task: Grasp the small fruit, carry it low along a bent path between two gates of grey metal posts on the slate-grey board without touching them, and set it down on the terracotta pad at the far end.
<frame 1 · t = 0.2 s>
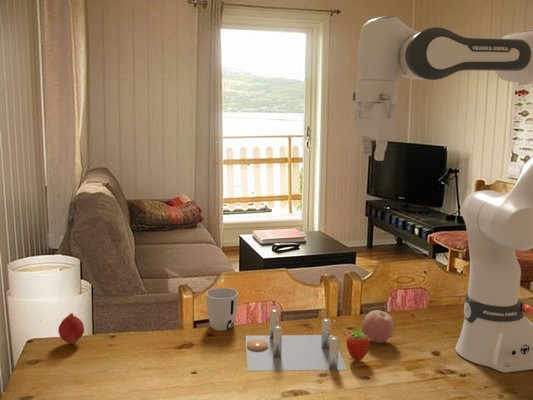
hand: (372, 157, 123), 47 cm above the table, fingers open, 8 cm apart
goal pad: (257, 346, 133), resting on board
apple: (377, 342, 139), on the table
board: (293, 355, 131), on the table
cup: (221, 330, 145), on the table
posts: (302, 337, 130), on the board, point 4 cm above the table
fruit: (356, 361, 129), on the table
onion: (72, 344, 134), on the table
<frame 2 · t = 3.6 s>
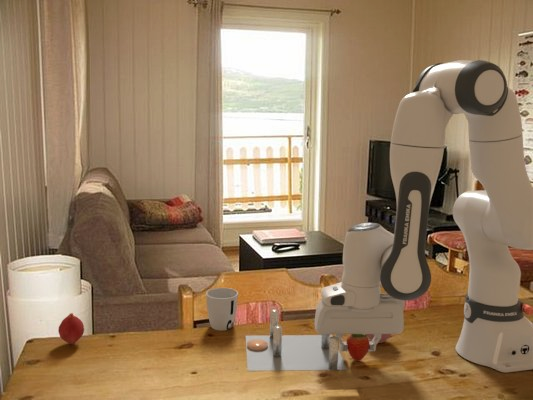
hand: (357, 350, 128), 3 cm above the table, fingers closed on fruit, 5 cm apart
fruit: (356, 361, 129), on the table, touching gripper
everything else where it was.
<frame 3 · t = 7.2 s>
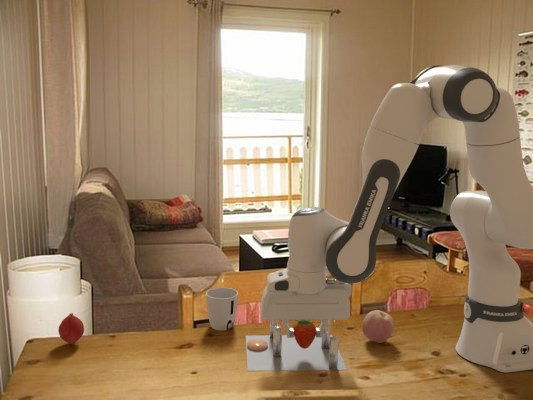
hand: (304, 336, 127), 6 cm above the table, fingers closed on fruit, 5 cm apart
fruit: (303, 349, 128), point 3 cm above the table, touching gripper
everything else where it was.
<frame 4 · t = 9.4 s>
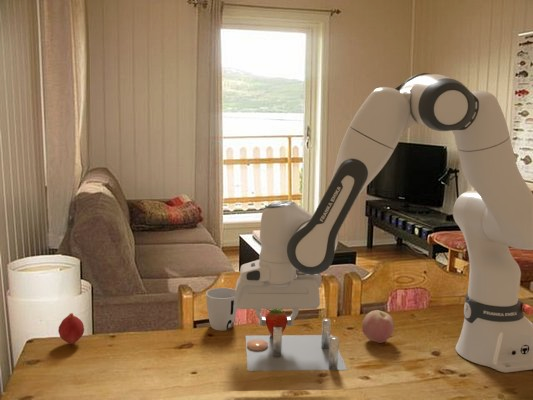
hand: (276, 325, 132), 6 cm above the table, fingers closed on fruit, 5 cm apart
fruit: (275, 337, 133), point 3 cm above the table, touching gripper
everything else where it was.
when the fingers open (5 cm above the table, at t = 11.1 s): fruit stays where it is, resting on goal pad.
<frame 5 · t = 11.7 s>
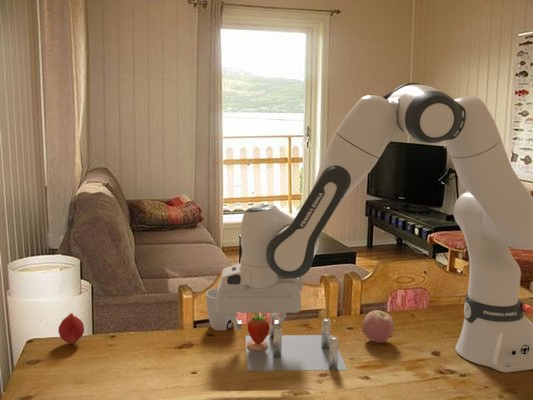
hand: (257, 329, 132), 5 cm above the table, fingers open, 8 cm apart
fruit: (257, 344, 133), point 1 cm above the table, touching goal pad
everything else where it was.
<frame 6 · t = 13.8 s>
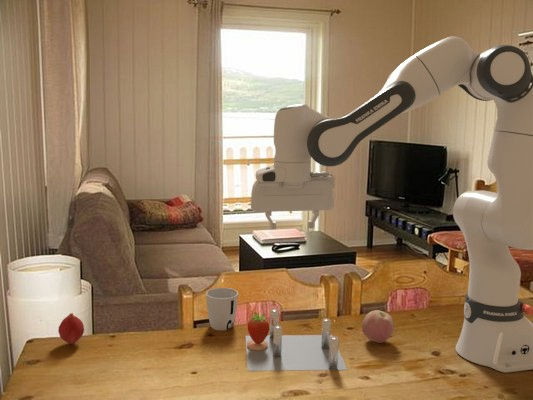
hand: (292, 228, 136), 28 cm above the table, fingers open, 8 cm apart
nothing on the table moved.
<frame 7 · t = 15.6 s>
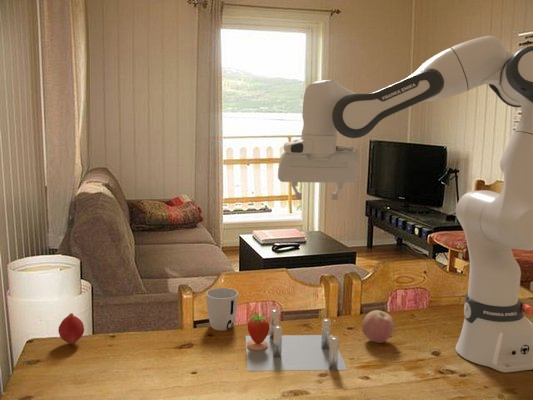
hand: (316, 199, 143), 34 cm above the table, fingers open, 8 cm apart
nothing on the table moved.
at the end: fruit 0.1 cm from the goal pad (horizontally); fruit tilted 0°; the gripper is holding nothing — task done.
